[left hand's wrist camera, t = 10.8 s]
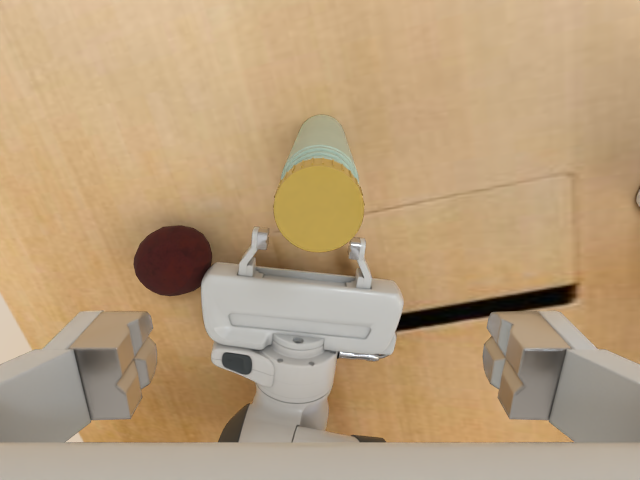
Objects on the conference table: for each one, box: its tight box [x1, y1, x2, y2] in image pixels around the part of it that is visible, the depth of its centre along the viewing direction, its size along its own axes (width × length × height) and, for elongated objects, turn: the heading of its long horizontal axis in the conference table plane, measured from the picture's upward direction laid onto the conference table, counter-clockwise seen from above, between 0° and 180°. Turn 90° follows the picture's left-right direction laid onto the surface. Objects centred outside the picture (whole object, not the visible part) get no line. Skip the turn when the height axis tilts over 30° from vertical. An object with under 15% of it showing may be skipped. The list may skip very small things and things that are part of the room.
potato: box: [134, 226, 212, 296], centre depth 45 cm, size 7×8×7 cm
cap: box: [273, 157, 365, 252], centre depth 22 cm, size 4×4×2 cm
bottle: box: [281, 115, 359, 184], centre depth 33 cm, size 5×5×24 cm
